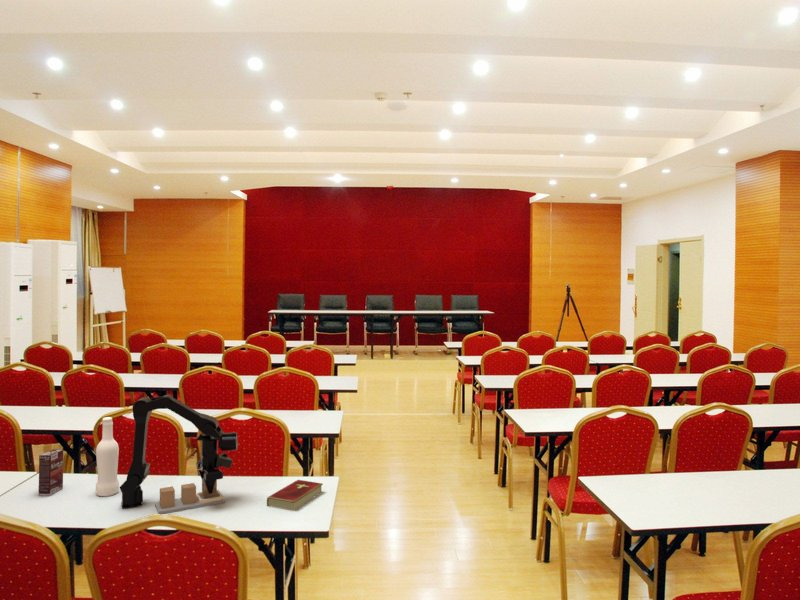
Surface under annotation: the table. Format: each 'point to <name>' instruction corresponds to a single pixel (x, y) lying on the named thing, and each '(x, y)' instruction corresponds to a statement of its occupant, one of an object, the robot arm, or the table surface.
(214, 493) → the walnut block
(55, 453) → the supplement box
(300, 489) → the hardcover book
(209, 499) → the holder
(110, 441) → the bottle
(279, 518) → the table surface
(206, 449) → the robot arm
